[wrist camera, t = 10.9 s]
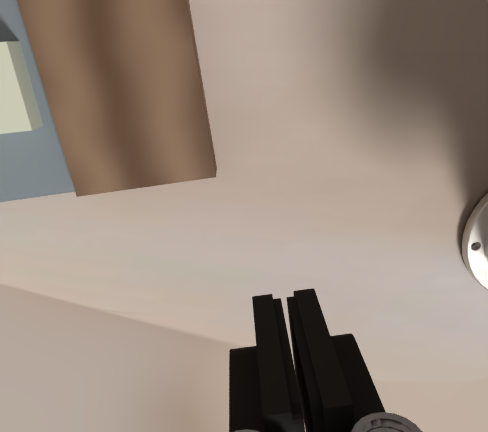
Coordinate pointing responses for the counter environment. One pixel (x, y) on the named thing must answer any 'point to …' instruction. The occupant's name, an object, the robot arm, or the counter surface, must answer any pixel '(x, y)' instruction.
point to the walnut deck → (122, 90)
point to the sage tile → (16, 92)
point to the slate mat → (30, 142)
